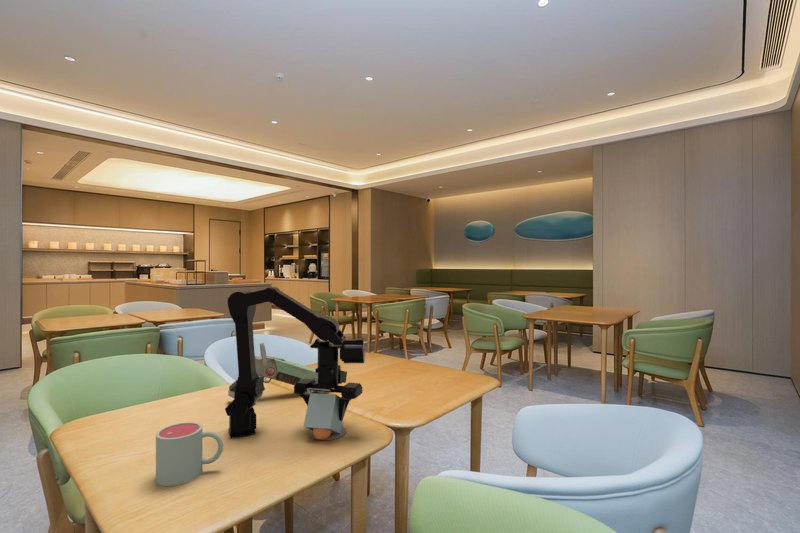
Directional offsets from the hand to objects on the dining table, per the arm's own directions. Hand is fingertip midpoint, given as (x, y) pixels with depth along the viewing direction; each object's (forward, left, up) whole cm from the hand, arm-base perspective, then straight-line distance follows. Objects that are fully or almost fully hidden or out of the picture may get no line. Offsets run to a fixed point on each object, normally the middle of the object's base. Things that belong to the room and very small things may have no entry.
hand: (328, 419), depth 112 cm
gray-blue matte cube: (-2, -3, -2) cm, 4 cm away
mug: (-34, -6, -4) cm, 35 cm away
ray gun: (-5, +37, -4) cm, 38 cm away
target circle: (0, 0, -4) cm, 4 cm away
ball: (-3, -3, -1) cm, 4 cm away
